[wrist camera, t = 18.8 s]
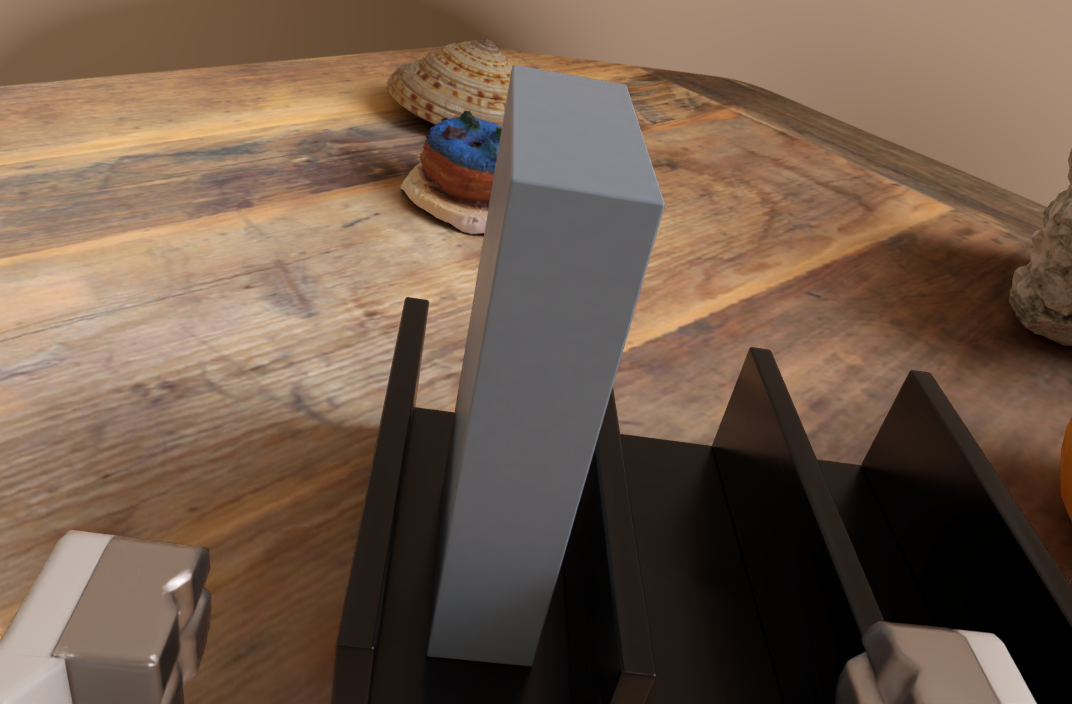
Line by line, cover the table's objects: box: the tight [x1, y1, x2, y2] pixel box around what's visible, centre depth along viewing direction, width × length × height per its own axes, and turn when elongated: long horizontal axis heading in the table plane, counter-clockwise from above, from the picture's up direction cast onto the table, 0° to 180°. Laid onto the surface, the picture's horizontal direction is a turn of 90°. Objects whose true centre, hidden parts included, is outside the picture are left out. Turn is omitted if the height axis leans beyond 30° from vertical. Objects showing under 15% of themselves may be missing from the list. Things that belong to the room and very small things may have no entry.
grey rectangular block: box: [426, 65, 665, 666], centre depth 20 cm, size 2×6×12 cm, turn 1°
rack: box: [331, 297, 1072, 704], centre depth 23 cm, size 12×16×5 cm
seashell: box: [387, 39, 512, 127], centre depth 52 cm, size 8×6×8 cm
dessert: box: [400, 110, 502, 234], centre depth 43 cm, size 8×7×6 cm
